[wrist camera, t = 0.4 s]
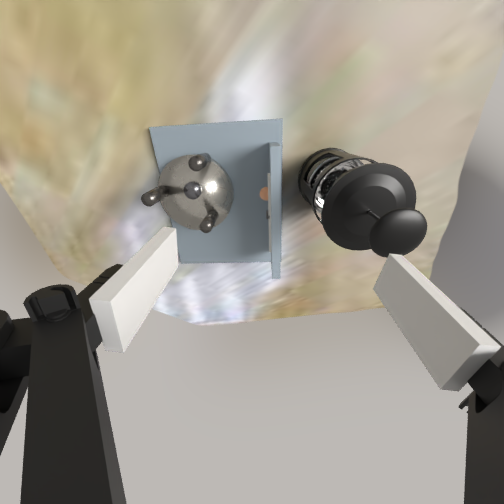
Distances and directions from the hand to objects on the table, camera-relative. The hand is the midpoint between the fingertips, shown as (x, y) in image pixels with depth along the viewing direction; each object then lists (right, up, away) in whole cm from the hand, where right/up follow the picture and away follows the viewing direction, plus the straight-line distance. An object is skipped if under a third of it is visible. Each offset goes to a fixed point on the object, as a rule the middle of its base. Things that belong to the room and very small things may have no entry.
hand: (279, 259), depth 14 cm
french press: (+11, +13, +23) cm, 29 cm away
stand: (-7, +10, +26) cm, 28 cm away
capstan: (-11, +11, +24) cm, 28 cm away
